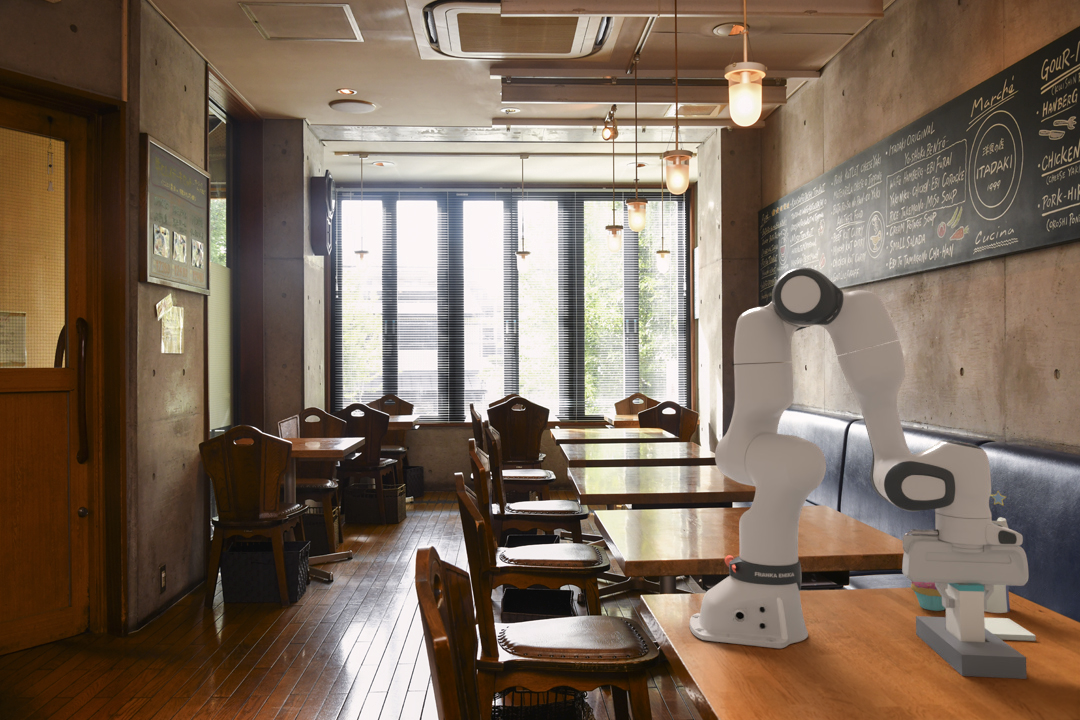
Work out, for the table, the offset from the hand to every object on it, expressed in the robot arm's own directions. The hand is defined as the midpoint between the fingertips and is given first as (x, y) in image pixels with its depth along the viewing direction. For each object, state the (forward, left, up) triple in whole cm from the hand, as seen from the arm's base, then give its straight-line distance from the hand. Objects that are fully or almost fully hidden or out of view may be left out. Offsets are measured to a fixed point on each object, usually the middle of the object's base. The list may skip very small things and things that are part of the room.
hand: (964, 607), depth 131 cm
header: (0, 0, -8) cm, 8 cm away
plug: (0, 0, -6) cm, 6 cm away
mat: (+11, +14, -8) cm, 20 cm away
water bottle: (+17, +30, -9) cm, 36 cm away
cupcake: (+5, +28, -9) cm, 30 cm away
